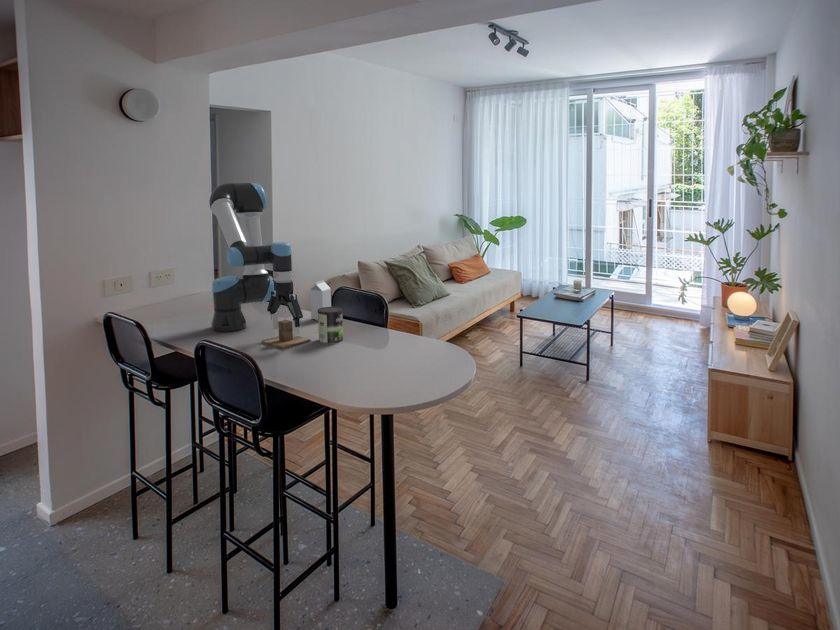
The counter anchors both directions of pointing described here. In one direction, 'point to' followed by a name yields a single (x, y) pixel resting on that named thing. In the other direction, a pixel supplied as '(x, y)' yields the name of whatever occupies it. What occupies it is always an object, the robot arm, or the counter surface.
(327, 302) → the milk carton
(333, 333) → the coffee can
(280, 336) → the wooden peg stand
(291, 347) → the mat
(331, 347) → the counter surface
